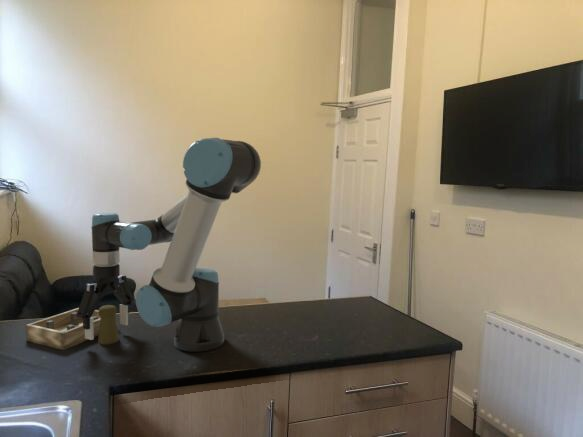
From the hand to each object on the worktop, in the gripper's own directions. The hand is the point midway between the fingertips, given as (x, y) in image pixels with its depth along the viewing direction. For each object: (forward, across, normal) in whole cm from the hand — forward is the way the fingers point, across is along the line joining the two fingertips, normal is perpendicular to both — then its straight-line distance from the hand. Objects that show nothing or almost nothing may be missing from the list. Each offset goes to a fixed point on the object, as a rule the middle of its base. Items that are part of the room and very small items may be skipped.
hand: (107, 331), depth 136 cm
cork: (+3, 0, 0) cm, 3 cm away
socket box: (+3, +1, -14) cm, 14 cm away
